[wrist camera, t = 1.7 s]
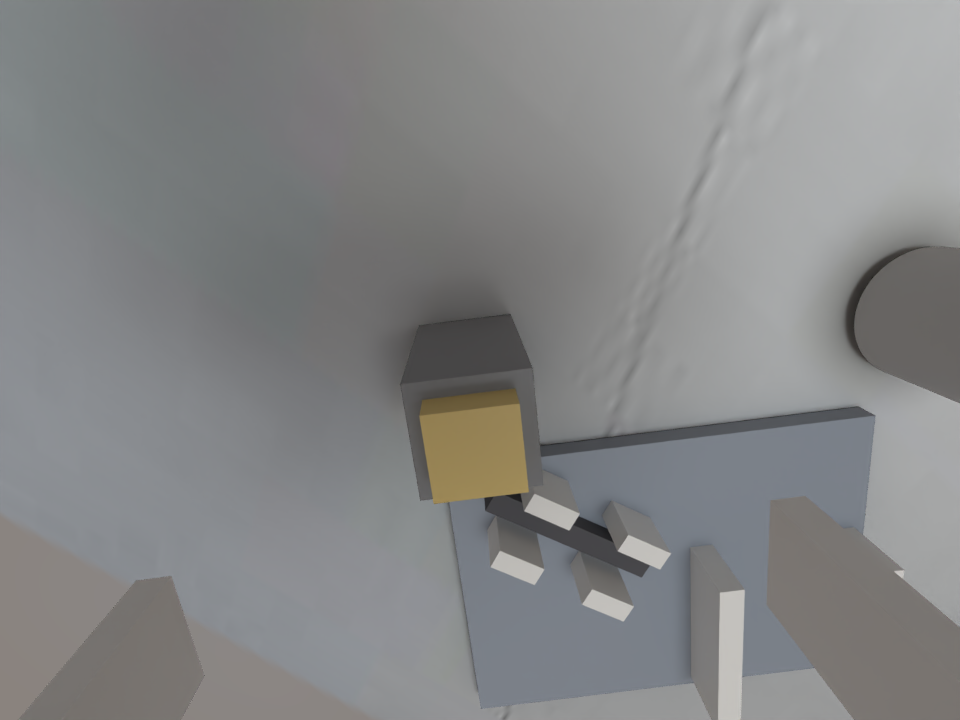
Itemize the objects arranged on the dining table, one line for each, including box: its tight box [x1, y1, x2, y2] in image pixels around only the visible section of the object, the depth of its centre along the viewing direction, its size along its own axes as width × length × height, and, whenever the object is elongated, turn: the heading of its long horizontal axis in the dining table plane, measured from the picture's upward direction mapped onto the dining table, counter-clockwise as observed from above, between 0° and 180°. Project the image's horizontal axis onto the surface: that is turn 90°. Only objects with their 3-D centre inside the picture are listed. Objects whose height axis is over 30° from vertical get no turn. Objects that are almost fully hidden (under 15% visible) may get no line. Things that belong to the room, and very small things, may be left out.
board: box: [449, 407, 875, 709], centre depth 29 cm, size 16×22×4 cm
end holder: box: [690, 527, 904, 720], centre depth 29 cm, size 9×9×4 cm
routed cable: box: [484, 493, 650, 578], centre depth 28 cm, size 9×1×1 cm, turn 63°
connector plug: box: [400, 314, 544, 504], centre depth 22 cm, size 4×4×10 cm
